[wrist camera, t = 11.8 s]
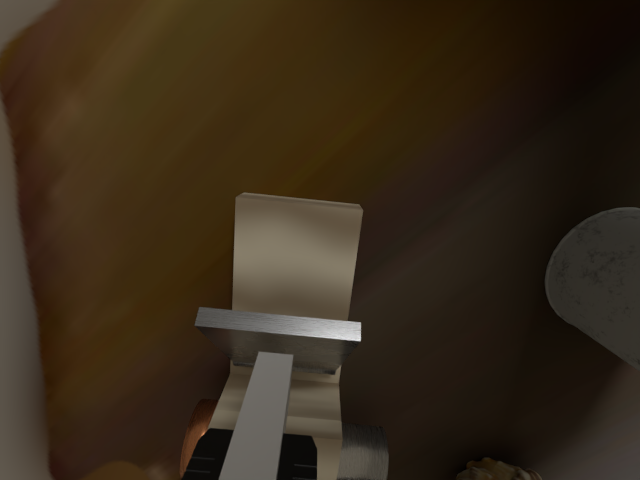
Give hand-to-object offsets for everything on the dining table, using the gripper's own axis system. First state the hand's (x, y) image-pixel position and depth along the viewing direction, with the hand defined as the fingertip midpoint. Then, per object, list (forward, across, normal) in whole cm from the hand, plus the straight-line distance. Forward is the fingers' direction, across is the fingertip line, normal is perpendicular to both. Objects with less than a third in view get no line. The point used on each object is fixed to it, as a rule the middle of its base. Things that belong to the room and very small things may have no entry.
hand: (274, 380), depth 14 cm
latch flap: (+5, 0, -1) cm, 5 cm away
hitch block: (+10, 0, -5) cm, 11 cm away
